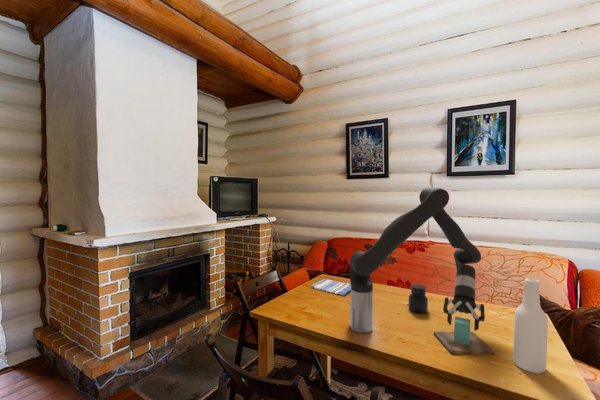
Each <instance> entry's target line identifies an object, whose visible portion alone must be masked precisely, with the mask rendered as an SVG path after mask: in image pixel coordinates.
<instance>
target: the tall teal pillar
mask: <svg viewBox="0 0 600 400" xmlns="http://www.w3.org/2000/svg"><path fill="white" fill-rule="evenodd" d="M471 322H472V321H471V319H469V318H464V317H460V316H455V318H454V323H453V325H454V328H453V330H454V331H453V332H454V342H457V343H461V344H465V345H469V346H470V332H471Z"/></svg>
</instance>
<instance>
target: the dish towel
mask: <svg viewBox="0 0 600 400" xmlns="http://www.w3.org/2000/svg"><path fill="white" fill-rule="evenodd" d="M313 288H314V290H316V289H317V290H316V291H320V290H321V291H320V292H324V291H326V292H325V293H328V292H330V293H329V294H332V293H335V294H334V295H336V294H339V295H338V296H340V295H343V296H342V297H346V296H348V295H349V294H351V293H350V292H351V283H350V282H349V283H348V282H340V281H337V280H333V279H328V278H324V279H322V280H320V281H318V282H315V283H313V284H312V285H311V289H313ZM347 294H348V295H347ZM345 295H346V296H345Z"/></svg>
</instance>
